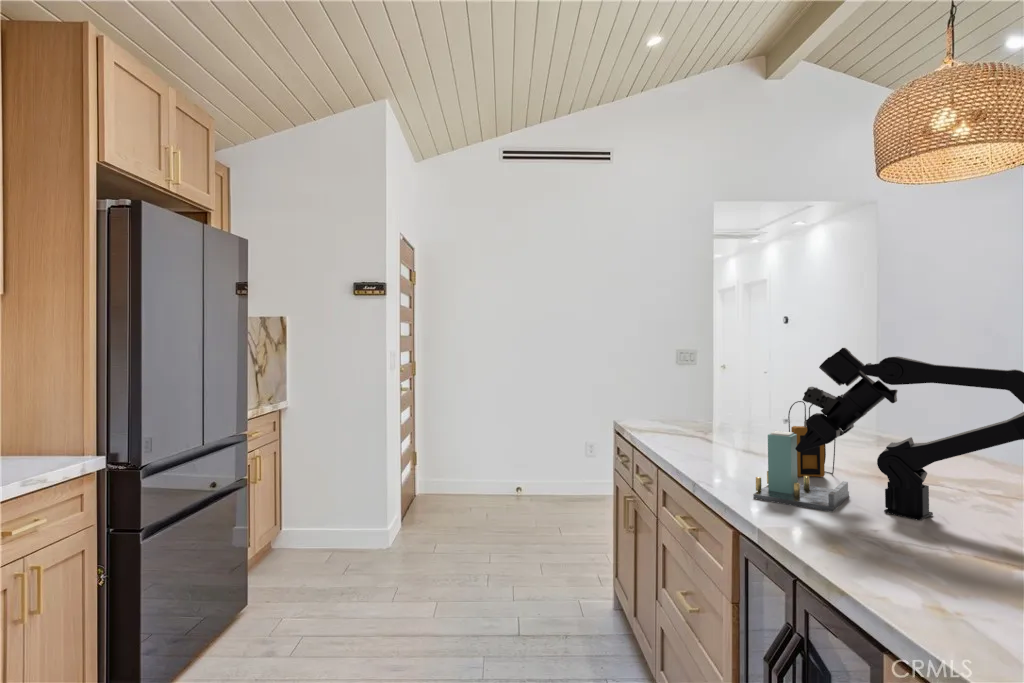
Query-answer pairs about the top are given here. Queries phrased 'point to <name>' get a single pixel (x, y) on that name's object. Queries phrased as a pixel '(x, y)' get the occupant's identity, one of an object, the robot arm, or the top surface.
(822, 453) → the multimeter
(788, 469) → the plate
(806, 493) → the plate
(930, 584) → the top surface
